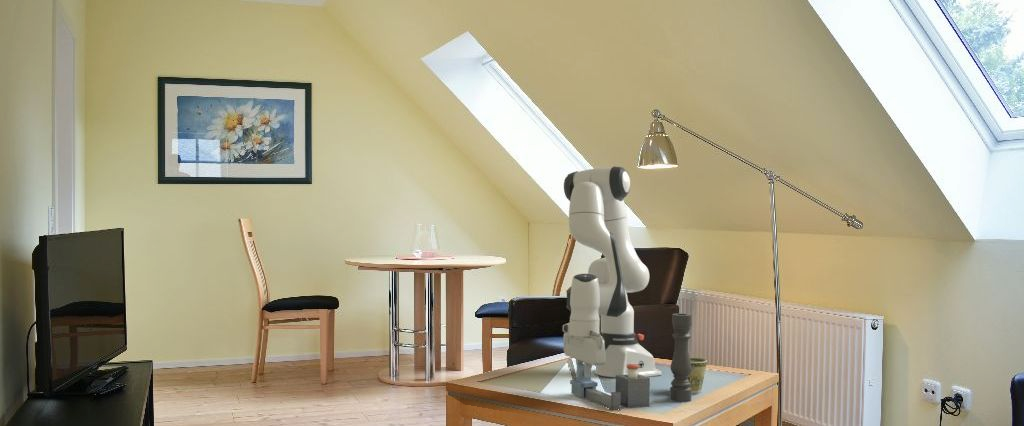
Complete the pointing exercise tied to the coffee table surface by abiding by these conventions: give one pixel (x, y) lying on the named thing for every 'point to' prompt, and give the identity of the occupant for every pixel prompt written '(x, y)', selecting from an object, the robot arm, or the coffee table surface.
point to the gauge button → (632, 370)
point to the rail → (602, 397)
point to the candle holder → (681, 358)
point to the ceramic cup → (697, 374)
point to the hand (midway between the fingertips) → (583, 375)
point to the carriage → (581, 382)
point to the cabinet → (633, 390)
